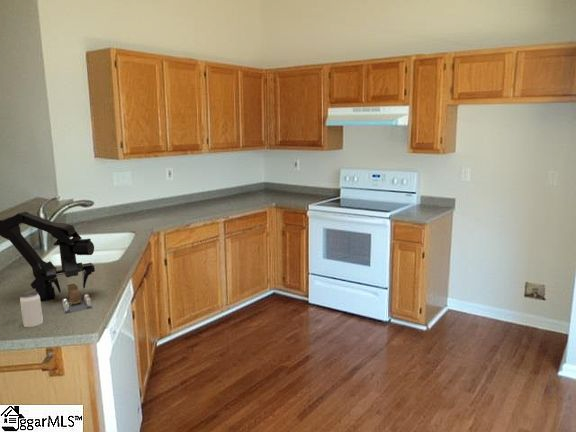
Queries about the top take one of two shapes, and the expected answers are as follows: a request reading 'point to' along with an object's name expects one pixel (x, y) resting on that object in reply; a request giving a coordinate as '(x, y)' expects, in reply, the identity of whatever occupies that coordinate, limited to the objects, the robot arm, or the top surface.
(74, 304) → the yellow-brown curved piece
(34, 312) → the can
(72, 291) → the brown rectangular block
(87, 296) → the pair of rounded blocks
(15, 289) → the top surface
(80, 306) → the mat
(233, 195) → the top surface
